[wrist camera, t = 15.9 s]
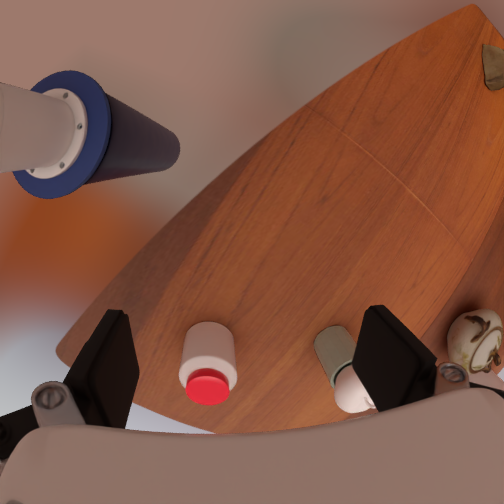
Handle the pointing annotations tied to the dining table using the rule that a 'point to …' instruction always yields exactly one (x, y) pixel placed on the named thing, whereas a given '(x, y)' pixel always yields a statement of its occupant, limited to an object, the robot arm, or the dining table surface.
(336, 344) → the cup
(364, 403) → the apple
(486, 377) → the tall pillar cylinder
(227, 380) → the pill bottle
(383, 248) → the dining table surface
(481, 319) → the sugar bowl
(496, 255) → the dining table surface
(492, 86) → the rock
